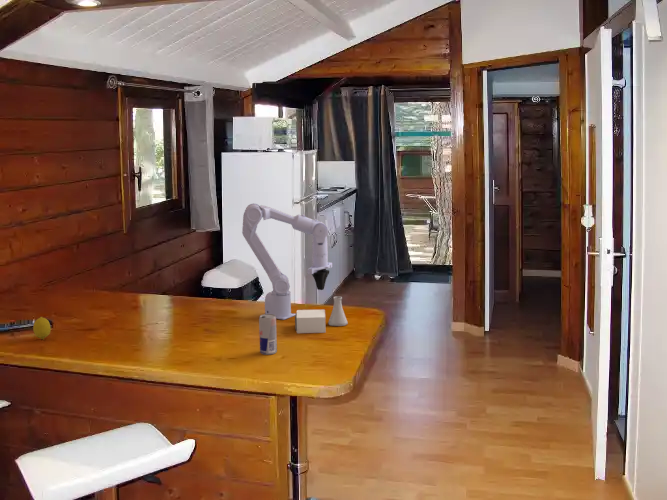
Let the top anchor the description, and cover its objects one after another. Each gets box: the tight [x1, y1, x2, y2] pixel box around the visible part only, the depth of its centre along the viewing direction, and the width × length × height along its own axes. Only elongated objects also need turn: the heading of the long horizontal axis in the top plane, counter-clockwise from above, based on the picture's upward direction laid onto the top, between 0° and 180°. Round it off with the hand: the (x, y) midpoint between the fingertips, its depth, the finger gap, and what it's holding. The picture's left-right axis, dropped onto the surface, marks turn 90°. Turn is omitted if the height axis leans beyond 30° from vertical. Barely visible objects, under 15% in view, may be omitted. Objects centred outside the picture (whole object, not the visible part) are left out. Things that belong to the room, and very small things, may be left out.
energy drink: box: [258, 313, 278, 356], centre depth 239 cm, size 5×5×12 cm
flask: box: [327, 295, 349, 327], centre depth 272 cm, size 7×7×10 cm
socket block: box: [294, 309, 327, 334], centre depth 267 cm, size 10×11×6 cm
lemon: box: [32, 316, 51, 340], centre depth 257 cm, size 6×6×8 cm
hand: (320, 289), depth 284 cm, fingers closed
